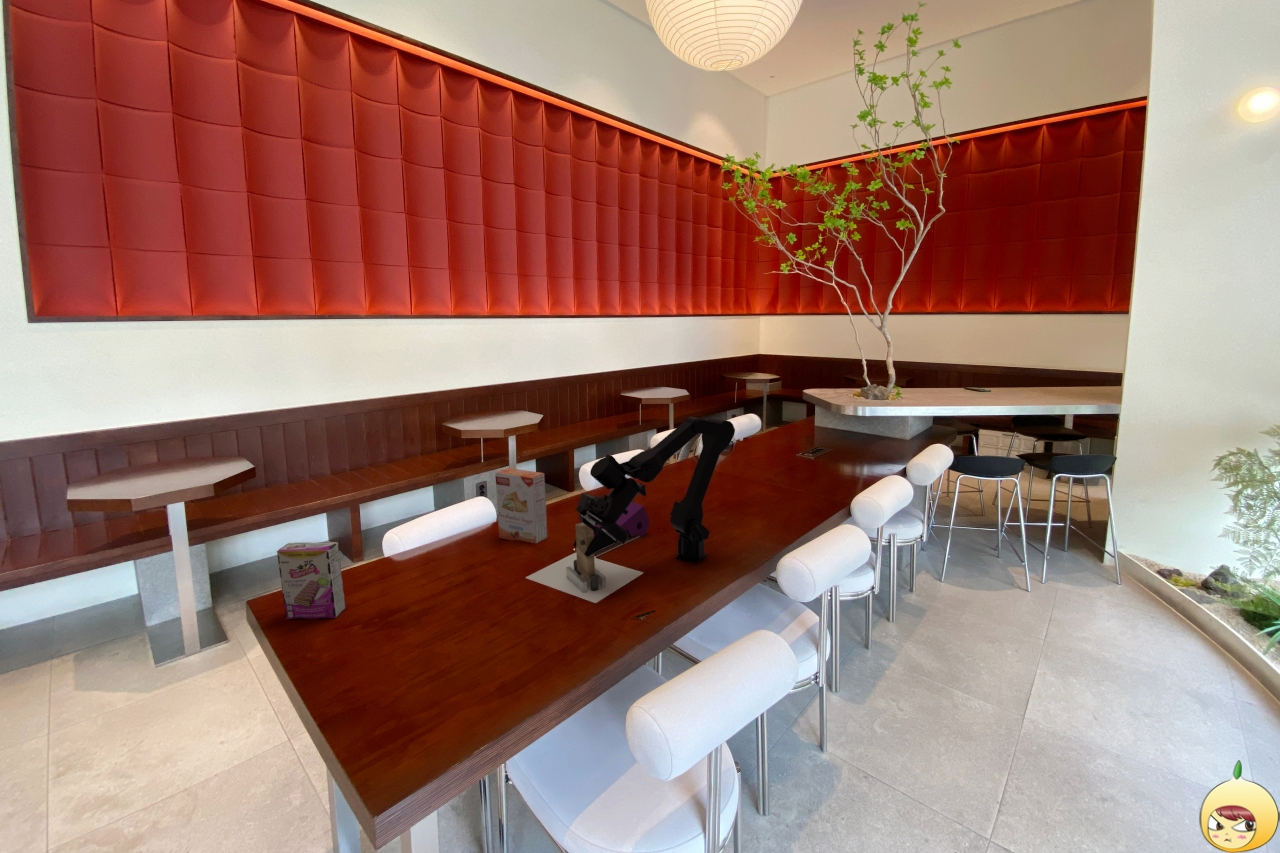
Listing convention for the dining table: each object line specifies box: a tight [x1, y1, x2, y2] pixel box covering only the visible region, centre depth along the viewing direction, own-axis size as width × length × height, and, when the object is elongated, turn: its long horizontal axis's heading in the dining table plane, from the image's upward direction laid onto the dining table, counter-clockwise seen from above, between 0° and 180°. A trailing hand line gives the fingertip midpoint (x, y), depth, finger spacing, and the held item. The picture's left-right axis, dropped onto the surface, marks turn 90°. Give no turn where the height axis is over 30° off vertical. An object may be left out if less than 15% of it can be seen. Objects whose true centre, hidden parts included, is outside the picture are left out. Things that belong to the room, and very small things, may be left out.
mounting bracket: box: [594, 501, 650, 538], centre depth 173 cm, size 9×8×18 cm
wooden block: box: [574, 523, 595, 579], centre depth 141 cm, size 3×6×12 cm, turn 30°
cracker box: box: [495, 467, 548, 544], centre depth 170 cm, size 14×6×21 cm, turn 62°
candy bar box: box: [276, 541, 346, 620], centre depth 129 cm, size 11×5×16 cm, turn 92°
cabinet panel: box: [525, 552, 644, 604], centre depth 146 cm, size 23×19×1 cm
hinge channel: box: [566, 560, 606, 593], centre depth 142 cm, size 6×12×4 cm, turn 30°
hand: (580, 551), depth 140 cm, fingers closed on wooden block, 6 cm apart
